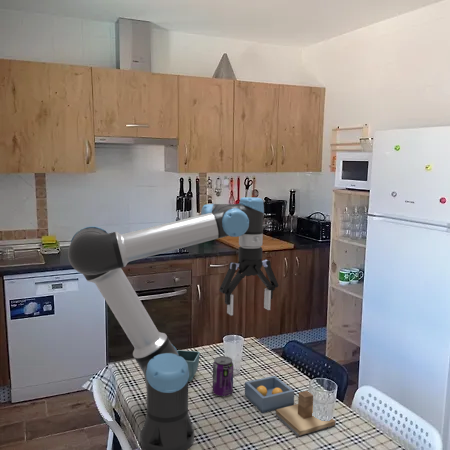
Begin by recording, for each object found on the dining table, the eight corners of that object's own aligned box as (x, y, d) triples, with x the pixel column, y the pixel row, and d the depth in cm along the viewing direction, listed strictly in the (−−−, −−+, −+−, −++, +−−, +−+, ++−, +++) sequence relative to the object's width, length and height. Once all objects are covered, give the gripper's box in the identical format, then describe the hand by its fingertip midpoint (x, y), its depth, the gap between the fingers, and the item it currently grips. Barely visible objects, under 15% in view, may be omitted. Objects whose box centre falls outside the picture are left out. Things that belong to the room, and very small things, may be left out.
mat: (297, 436, 131) (297, 434, 131) (275, 415, 142) (275, 414, 142) (335, 425, 137) (335, 423, 137) (311, 406, 148) (311, 404, 148)
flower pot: (170, 383, 162) (170, 359, 161) (177, 372, 171) (177, 349, 170) (194, 385, 161) (194, 361, 160) (199, 374, 169) (200, 351, 168)
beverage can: (230, 399, 152) (231, 365, 150) (210, 396, 153) (210, 363, 152) (234, 389, 159) (235, 356, 157) (214, 386, 160) (215, 354, 159)
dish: (262, 413, 143) (262, 398, 143) (244, 395, 154) (245, 382, 153) (293, 405, 149) (294, 391, 148) (274, 389, 159) (274, 375, 159)
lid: (300, 435, 131) (301, 408, 130) (275, 413, 142) (276, 388, 141) (335, 424, 137) (336, 399, 136) (309, 404, 148) (310, 380, 147)
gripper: (219, 251, 133) (218, 320, 136) (290, 246, 144) (288, 310, 147) (209, 246, 140) (208, 312, 143) (277, 242, 151) (275, 303, 153)
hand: (248, 311), depth 145 cm, fingers open, 13 cm apart
